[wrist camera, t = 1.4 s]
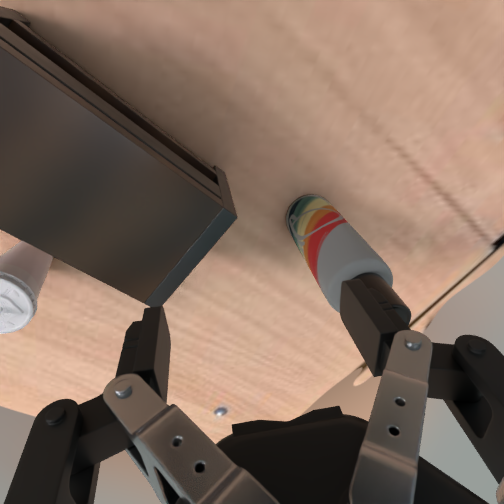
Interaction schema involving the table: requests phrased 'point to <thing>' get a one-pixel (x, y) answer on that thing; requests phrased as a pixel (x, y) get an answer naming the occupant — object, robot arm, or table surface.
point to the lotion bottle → (338, 252)
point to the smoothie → (21, 284)
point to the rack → (99, 175)
